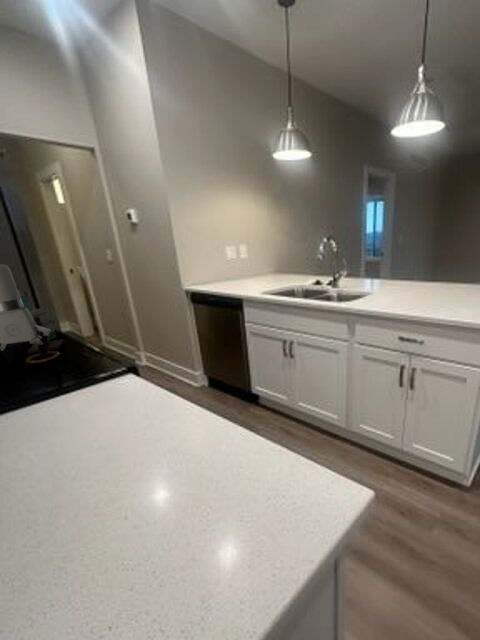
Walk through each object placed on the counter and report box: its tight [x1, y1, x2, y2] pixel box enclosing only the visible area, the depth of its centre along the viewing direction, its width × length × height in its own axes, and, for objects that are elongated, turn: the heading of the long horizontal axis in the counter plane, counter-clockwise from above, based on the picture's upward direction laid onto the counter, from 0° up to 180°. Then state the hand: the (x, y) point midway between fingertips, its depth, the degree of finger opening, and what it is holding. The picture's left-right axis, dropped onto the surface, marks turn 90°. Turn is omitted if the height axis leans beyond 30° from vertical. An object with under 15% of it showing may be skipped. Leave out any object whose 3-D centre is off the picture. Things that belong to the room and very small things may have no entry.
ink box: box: [28, 307, 58, 345], centre depth 131 cm, size 9×5×12 cm, turn 178°
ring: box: [24, 350, 61, 364], centre depth 114 cm, size 9×9×1 cm
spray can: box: [16, 285, 33, 311], centre depth 138 cm, size 6×6×20 cm
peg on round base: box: [26, 317, 65, 354], centre depth 122 cm, size 9×9×12 cm
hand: (28, 357), depth 112 cm, fingers open, 8 cm apart
